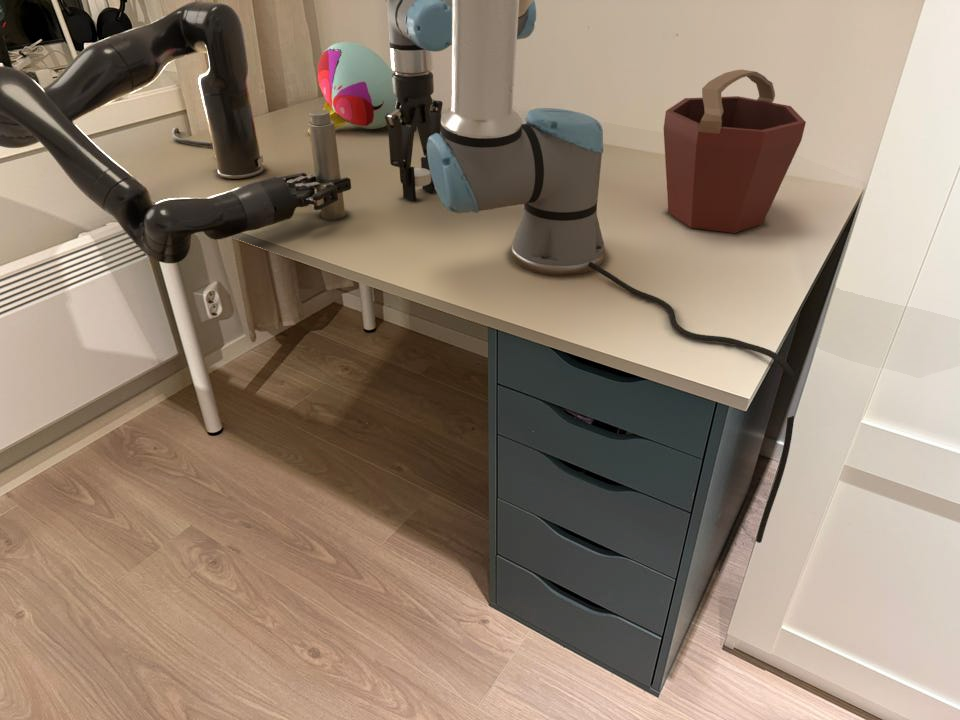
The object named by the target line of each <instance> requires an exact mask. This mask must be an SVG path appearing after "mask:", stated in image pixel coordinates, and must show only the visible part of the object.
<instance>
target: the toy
mask: <svg viewBox="0 0 960 720" xmlns="http://www.w3.org/2000/svg"><path fill="white" fill-rule="evenodd" d="M393 73H394V71H393V70H392V68H391V67H390V66H389V65H388V64H387V62H386V61H385V60H384V59H383V58H382V57H381V56H380V55H379V54H378V53H376V52H375V51H374V50H372V49H370V48H369V47H367V46H365V45H362V44H360V43H357V42H353V41H352V42H351V41H341V42H337V43H336V42H335V43H334V44H332V45H330V46H329V47H327V48H326V49H325V50H324V51H323V52H322V54H321V56H320V58H319V61H318V64H317V81H318V85H319V88H320V91H321V93H322V95H323V97H324V99H325V102H324V108H323V109H322V110H327V111H329V112H330V116H331V117H330V120H332V121H334V127H335V129H336V128H339V127H342V126H345V125H347V124H351V125H353V126H356V127H358V128H361V129H366V130H378V129H382V128H384V127H386V126H388V125H387V122H386V120H385V114H386V113H390V114H391V113H392V112H393V111H395V110H396V109H395V107H396V103H397V98H396V96H395V95H394V93H393V85H392V75H393ZM307 132H308V133H309V129H307Z"/></svg>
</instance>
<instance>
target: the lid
mask: <svg viewBox="0 0 960 720" xmlns="http://www.w3.org/2000/svg"><path fill="white" fill-rule="evenodd" d="M414 175H415V188H416V187H422V186H425V185H428V184H430V182H431V174H430V171H429V170H428V169H424V168H421V167H414Z"/></svg>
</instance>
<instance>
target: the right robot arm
mask: <svg viewBox="0 0 960 720" xmlns="http://www.w3.org/2000/svg"><path fill="white" fill-rule="evenodd" d="M384 1H385V3H386V11H387V12H386V16H387V27H388V38H389V40H388V41H389V52H390V53H389V55H390V66H391V67H390V69H391V71H392V72H393V75H392V85H393V93H394V95H395V96H396V98H397V103H396V107H395V109H396V110H395V111H393V112H392V113H391V114H390V113H386V114H385V120H386V122H387V125H386V126H387V134H388V148H389V161H390V165H391V166H392V167H396V168H398V169H399V179H400V180H399V182H400V184H401V186H402V196H403V197H402V198H403V199H405V200H406V199H407V200H409V201H414V202H415V201H416V200H417V193H416V187H415V175H414V168H415V167H414V166H412V157H413V148H414V139H415V133H416V132H417V133H418V137H419V140H420V145H421V149H422V153H423V156H422V157H420V168H424V169H428V170H429V171H430V174H431V182H430V184H428V185H425V186H421V187H422V188H421V189H422V190H423V191H426V192H430V193H434V192H435V191H436V194H437V196H438V198H439V200H440V202H441V204H442V205H443V206H444V207H445V208H446V210H447V211H448V212H451V213H453V214H464V213H467V214H468V213H474V214H478V213H479V212H483V211H489V210H495V209H501V208H508V207H513V206H519V205H523V212H522V215H521V218H520V220H519V224H518V226H517V229H516V232H515V234H514V237H513V240H512V243H511V244H512V245H511V257H512V259H513V261H514V262H515V263H516V264H517V265H519V267H521V268H524V269H526V270H528V271H530V272H532V273H533V272H534V273H537V274H541V275H547V276H558V277H559V276H560V277H561V276H573V275H574V276H575V275H580V274H584V273H588V272H590V271H593V270H594V271H596V272H597V273H598V274H600V275H602V276H604V277H605V278H607V279H609V280H610V281H612V282H613V283H615V284H616V285H618V286H619V287H620V288H622V289H624V290H625V291H627V292H629V293H631V294H632V295H635V296H637V297H639V298H642V299H645V300H648V301H650V302H652V303H656V304H657V305H659V306H661V307H662V308H663V309H664V310H665V311H666V312H667V313H668V316H669V321H670V324H671V326H672V328H673V330H674V331H676V332H677V333H678V334H680V335H682V336H684V337H686V338H689V339H693V340H697V341H703V342H711V343H722V344H729V345H733V346H736V347H739V348H743V349H745V350H748V351H752V352H756V353H760V354H762V355H764V356H767V357H769V358H771V359H772V360H774V361H775V362H776V363H777V364H778V365H779V366H780V367H781V368H782V370H783V371H784V373H785V374H786V376H787V377H788V378H790V379H796V374H795V373H794V371H793V369H792V368H791V366H790V365H789V363H788V362H787V361H786V360H785V359H784V358H783V357H782V356H781V355H779V354H778V353H776V351H775V352H774V351H773V350H771V349H769V348H765V347H763V346H760V345H756V344H752V343H750V342H745V341H742V340H741V339H736V338H732V337H728V336H719V335H718V336H717V335H708V334H707V335H706V334H699V333H695V332H692V331H689V330H686V329H685V328H683V327H682V326H681V325H679V322H678V321H677V318H676V313H675V310H674V309H673V307H672V306H671V304H669V303H668V302H667V301H665V300H663V299H661V298H659V297H657V296H655V295H652V294H649V293H646V292H644V291H642V290H639V289H636V288H634V287H632V286H631V285H628V284H627V283H626V282H624V281H623V280H622V279H620V278H618V277H617V276H615V275H613V274H612V273H611V272H609V271H607V270H606V269H604V268H602V267H601V266H600V265H601V264H602V263H603V261H604V258H605V249H606V247H605V242H604V239H603V233H602V230H601V226H600V222H599V218H598V213H597V212H598V199H599V188H600V179H601V178H600V177H601V167H602V159H603V154H604V129H603V126H602V124H601V123H600V121H598V119H596V118H595V117H592V116H590V115H589V114H585V113H583V112H579V111H574V110H568V109H563V108H562V109H561V108H553V107H538V108H533V109H530V110H529V111H528V112H527V113H526V115H525V118H524V119H525V123H523V118H522V117H521V115H519V113H518V112H517V111H516V110H515V109H514V94H515V93H514V91H515V78H516V77H515V76H516V59H517V44H518V43H517V42H518V40H523V39H527V38H529V37H530V36H531V35H532V33H533V32H534V30H535V22H536V21H537V6H536V1H535V0H384ZM449 47H451V105H450V107H449V108H448V109H447V110H445V112H443V113H442V110H443V104H444V103H443V101H441V100H437V99H433V98H432V95H433V94H434V91H435V84H434V74H433V72H432V70H433V69H434V59H433V52H434V53H435V52H441V51H444V50H446V49H448V48H449ZM794 423H795V415H792V416H789V417H787V418H786V427H785V433H784V434H785V435H784V442H783V446H782V452H781V456H780V460H779V464H778V467H777V471H776V475H775V478H774V480H773V484H772V487H771V489H770V490H771V491H770V492H769V495H768V498H767V502H766V505H765V507H764V511H763V514H762V516H761V520H760V523H759V527H758V530H757V535H756V538H755V542H756V543H759V544H760V543H762V541H763V538H764V533H765V531H766V528H767V524H768V521H769V517H770V514H771V511H772V509H773V506H774V503H775V500H776V497H777V495H778V491H779V488H780V485H781V482H782V480H783V477H784V473H785V469H786V465H787V461H788V458H789V453H790V449H791V444H792V439H793V430H794Z"/></svg>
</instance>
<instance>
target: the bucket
mask: <svg viewBox="0 0 960 720" xmlns="http://www.w3.org/2000/svg"><path fill="white" fill-rule="evenodd" d="M746 77H747V78H748V79H749V80H750V81H751V82H752V83H754V84H755V85H756V88H757V91H758V98H757V99H754V98H750V97H744V96H739V95H736V96H733V95H732V96H731V95H730V96H722V92H724V91H725V90H726V89H727V88H728V87H729V86H730V85H732V84H734V83H735V82H737V81H738V80H740V79H743V78H746ZM701 96H702V97H685V98H683V99H682V100H680V101H679V102H677V103H676V104H674V105H672V106H670V107H669V108H668V109H667V110H665V115H664V122H663V143H664V156H665V157H664V159H665V161H664V162H665V177H666V179H665V180H666V192H667V193H666V194H667V196H666V197H667V212H668V214H670V215H671V216H672V217H674V218H676V219H677V220H679V221H680V222H681V223H683V224H684V225H686V226H687V227H689V228H691V229H698V230H707V231H715V232H721V233H732V234H735V233H739V232H742V231H745V230H749V229H751V228H754V227H757V226H760V225H762V224H764V222H765V219H766V218H767V215H768V213H769V211H770V209H771V207H772V205H773V202H774V201H775V198H776V196H777V195H778V192H779V189H780V187H781V185H782V183H783V181H784V179H785V177H786V175H787V173H788V170H789V168H790V167H791V164H792V162H793V159H794V158H795V155H796V153H797V151H798V150H799V149H798V148H799V147H800V145H801V142H802V139H803V135H804V132H805V128H806V125H807V124H806V120H805V119H804V118H803V117H802V116H801V115H800V114H799V113H798V112H797V111H796V110H795V109H794V108H793V107H792V106H791V105H787V104H781V103H776V102H774V101H775V98H776V92H775V88H774V83H773V82H772V81H771V80H769V79H768V78H767V77H766V76H765V75H763V74H761V73H760V72H758V71H755V70H748V69H735V70H732V71H727V72H724V73H722V74H720V75H717V76H716V77H714V78H713V79H711V80H709V81H708V82H707V83H706V84H705V85H704V86H703V87H702V88H701Z"/></svg>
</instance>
